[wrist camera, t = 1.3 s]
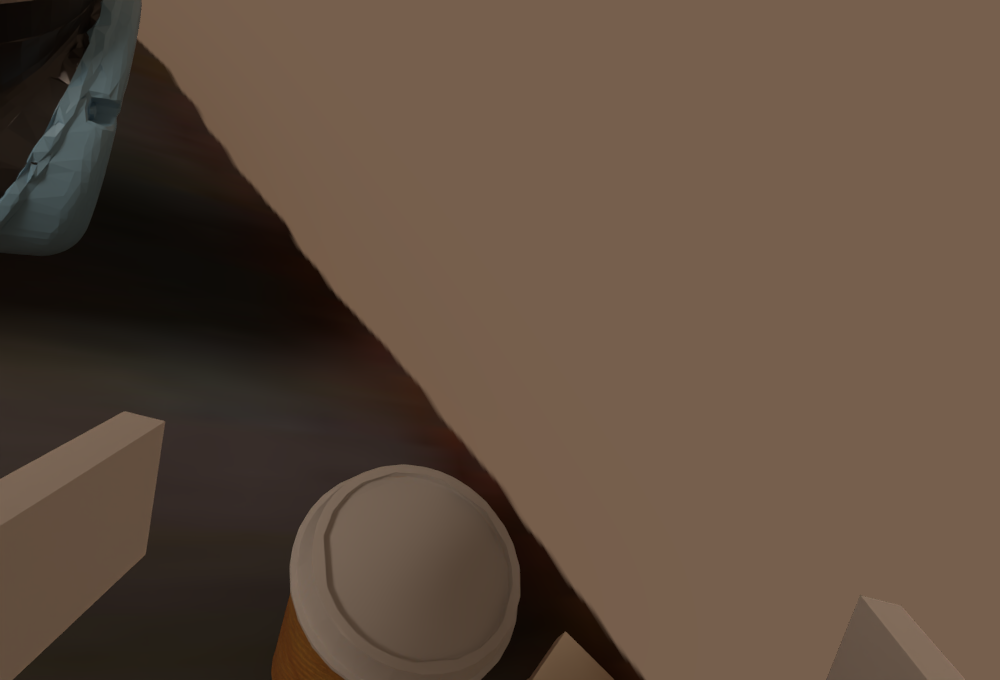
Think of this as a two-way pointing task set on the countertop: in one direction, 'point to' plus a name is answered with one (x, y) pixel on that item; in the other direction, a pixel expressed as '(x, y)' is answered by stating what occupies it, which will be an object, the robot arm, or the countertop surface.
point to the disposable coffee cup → (398, 582)
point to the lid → (568, 663)
